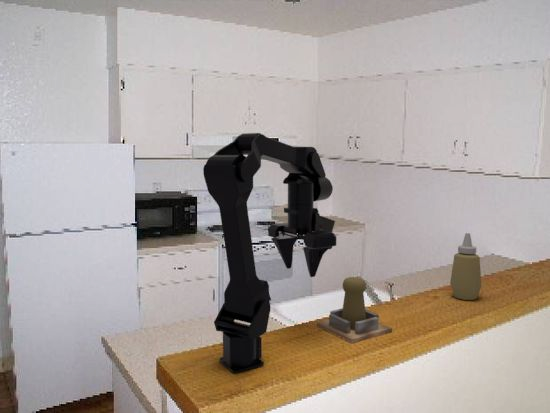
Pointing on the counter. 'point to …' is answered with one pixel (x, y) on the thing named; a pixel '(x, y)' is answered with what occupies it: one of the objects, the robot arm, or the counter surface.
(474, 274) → the squeeze bottle
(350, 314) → the cork
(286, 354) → the counter surface
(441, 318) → the counter surface
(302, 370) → the counter surface
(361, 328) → the clip holder
